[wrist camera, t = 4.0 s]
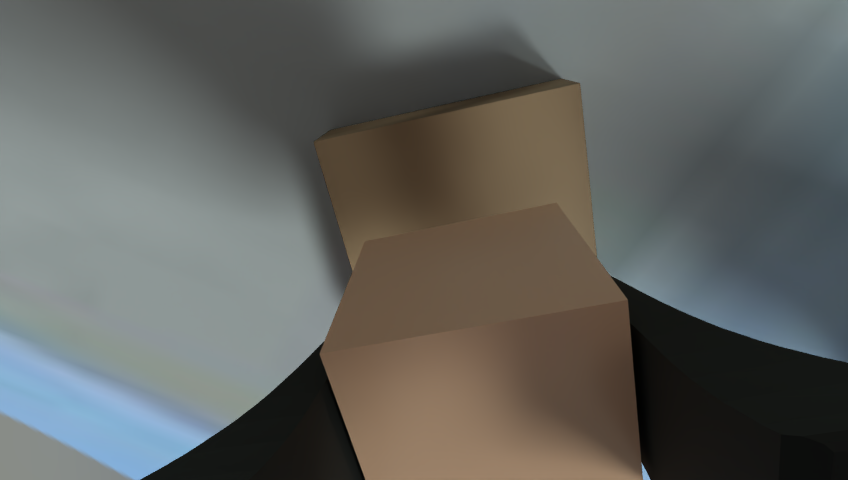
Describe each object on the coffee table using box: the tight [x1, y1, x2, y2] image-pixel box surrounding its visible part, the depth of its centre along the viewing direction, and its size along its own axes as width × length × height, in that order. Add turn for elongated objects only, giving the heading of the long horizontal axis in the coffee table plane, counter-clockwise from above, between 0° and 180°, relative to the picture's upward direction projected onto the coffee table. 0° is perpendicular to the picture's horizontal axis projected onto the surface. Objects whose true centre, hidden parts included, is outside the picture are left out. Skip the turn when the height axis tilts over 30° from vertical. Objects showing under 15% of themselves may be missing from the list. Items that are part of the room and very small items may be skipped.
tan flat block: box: [314, 79, 597, 271], centre depth 19 cm, size 9×9×3 cm
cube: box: [320, 203, 643, 480], centre depth 11 cm, size 5×5×5 cm
